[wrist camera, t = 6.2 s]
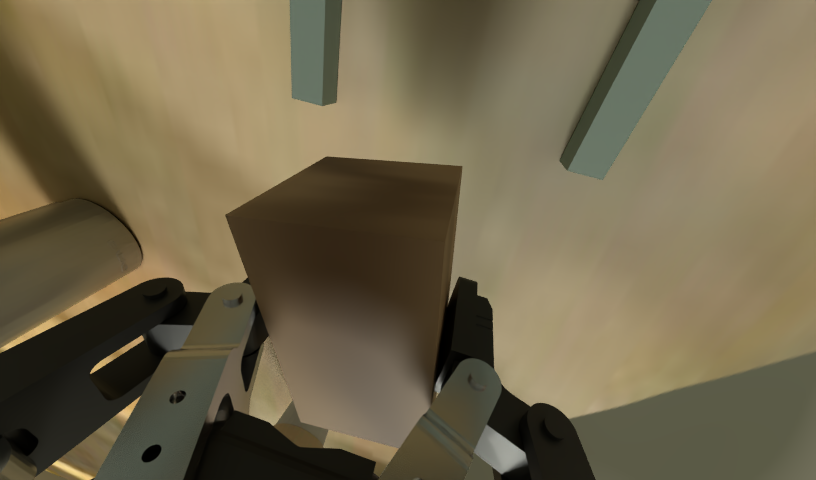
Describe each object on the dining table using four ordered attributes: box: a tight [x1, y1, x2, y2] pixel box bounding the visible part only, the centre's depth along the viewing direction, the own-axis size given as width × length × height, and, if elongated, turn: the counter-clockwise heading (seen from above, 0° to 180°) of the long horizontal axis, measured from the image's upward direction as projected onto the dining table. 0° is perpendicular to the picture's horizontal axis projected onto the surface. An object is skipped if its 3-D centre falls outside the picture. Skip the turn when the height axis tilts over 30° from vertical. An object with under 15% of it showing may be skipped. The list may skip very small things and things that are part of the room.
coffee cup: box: [274, 401, 328, 448], centre depth 35 cm, size 9×9×15 cm
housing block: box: [225, 157, 462, 448], centre depth 10 cm, size 5×9×5 cm, turn 0°
